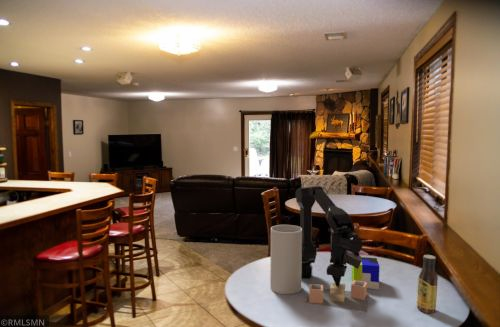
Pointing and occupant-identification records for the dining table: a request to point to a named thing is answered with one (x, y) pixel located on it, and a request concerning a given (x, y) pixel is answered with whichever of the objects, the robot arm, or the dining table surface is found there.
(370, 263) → the puzzle toy
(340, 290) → the plain block
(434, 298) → the sauce bottle
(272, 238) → the cylinder vase
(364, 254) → the lily
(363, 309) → the mat
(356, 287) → the labelled block right
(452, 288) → the dining table surface
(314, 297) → the labelled block left
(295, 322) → the dining table surface
